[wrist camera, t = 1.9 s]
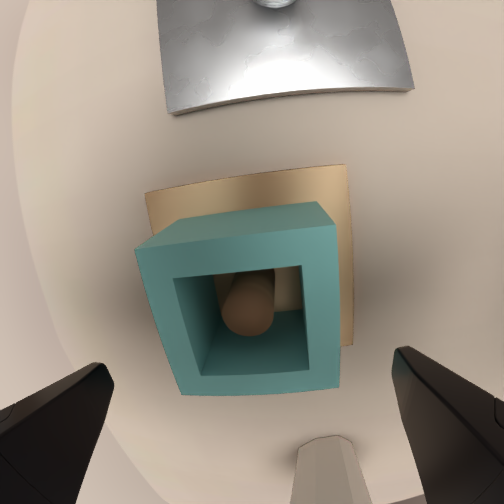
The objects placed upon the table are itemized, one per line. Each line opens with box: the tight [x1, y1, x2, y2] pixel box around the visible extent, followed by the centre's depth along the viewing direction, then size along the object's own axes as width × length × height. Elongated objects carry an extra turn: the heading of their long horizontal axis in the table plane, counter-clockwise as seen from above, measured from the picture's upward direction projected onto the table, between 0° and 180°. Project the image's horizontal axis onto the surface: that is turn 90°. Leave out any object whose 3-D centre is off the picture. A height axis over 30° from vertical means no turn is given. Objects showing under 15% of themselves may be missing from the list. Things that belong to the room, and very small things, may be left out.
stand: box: [145, 164, 354, 346], centre depth 14 cm, size 10×10×5 cm
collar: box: [134, 201, 340, 396], centre depth 13 cm, size 7×7×5 cm
